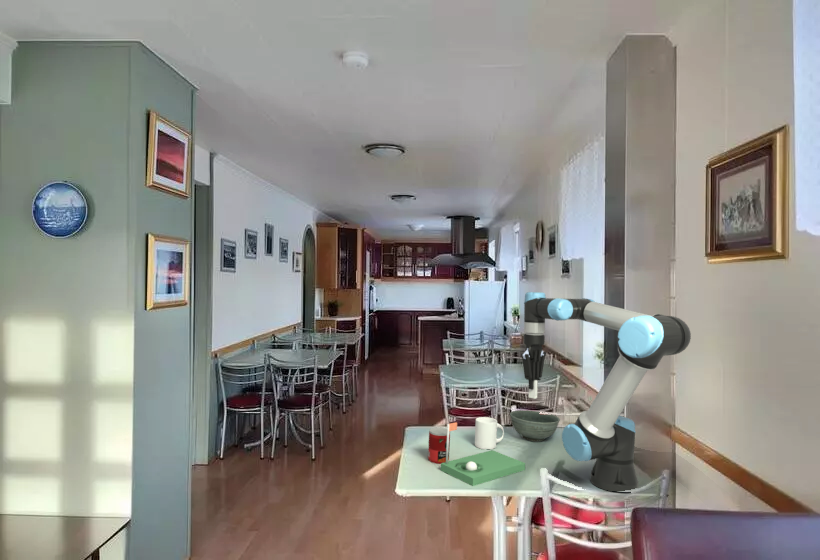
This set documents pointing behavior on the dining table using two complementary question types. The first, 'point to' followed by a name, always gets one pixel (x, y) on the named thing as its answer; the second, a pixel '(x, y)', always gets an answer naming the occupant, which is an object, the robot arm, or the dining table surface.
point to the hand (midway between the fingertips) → (532, 397)
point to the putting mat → (480, 465)
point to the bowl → (534, 424)
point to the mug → (487, 433)
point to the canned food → (438, 445)
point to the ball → (471, 466)
